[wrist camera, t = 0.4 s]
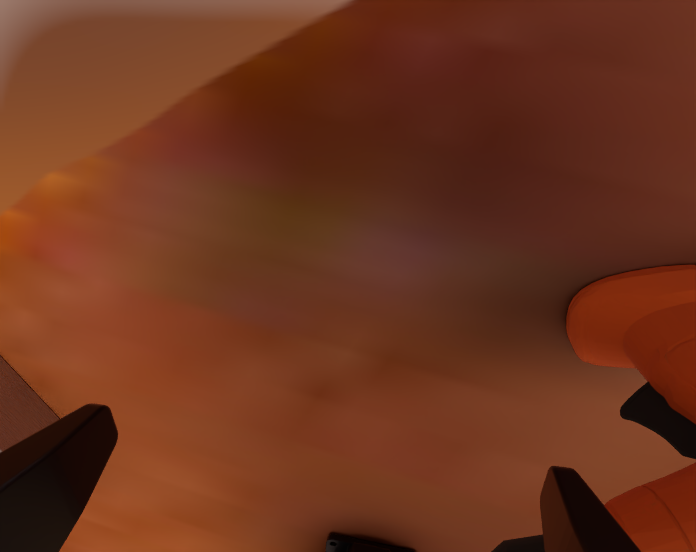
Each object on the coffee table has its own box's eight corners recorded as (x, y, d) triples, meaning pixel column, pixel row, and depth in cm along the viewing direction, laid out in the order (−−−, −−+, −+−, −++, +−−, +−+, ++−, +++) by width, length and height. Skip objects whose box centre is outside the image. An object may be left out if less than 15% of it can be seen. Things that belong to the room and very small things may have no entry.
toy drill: (335, 335, 24) (289, 689, 11) (731, 241, 21) (1367, 571, 8) (361, 407, 26) (351, 783, 13) (728, 330, 23) (1233, 720, 10)
